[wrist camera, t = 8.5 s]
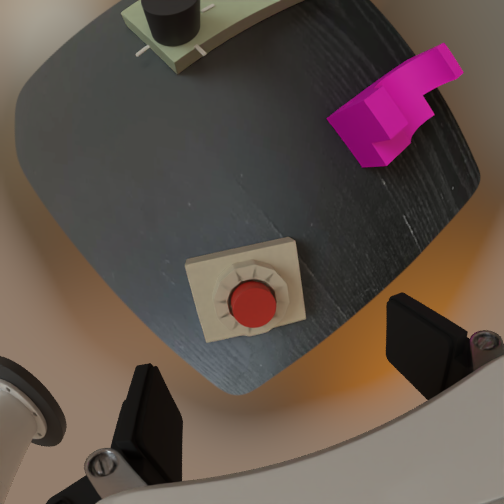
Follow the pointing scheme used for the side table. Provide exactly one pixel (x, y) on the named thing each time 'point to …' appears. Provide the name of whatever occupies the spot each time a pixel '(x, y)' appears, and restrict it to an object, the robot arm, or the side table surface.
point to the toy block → (393, 107)
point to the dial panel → (205, 27)
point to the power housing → (241, 271)
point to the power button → (253, 304)
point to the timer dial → (172, 20)
